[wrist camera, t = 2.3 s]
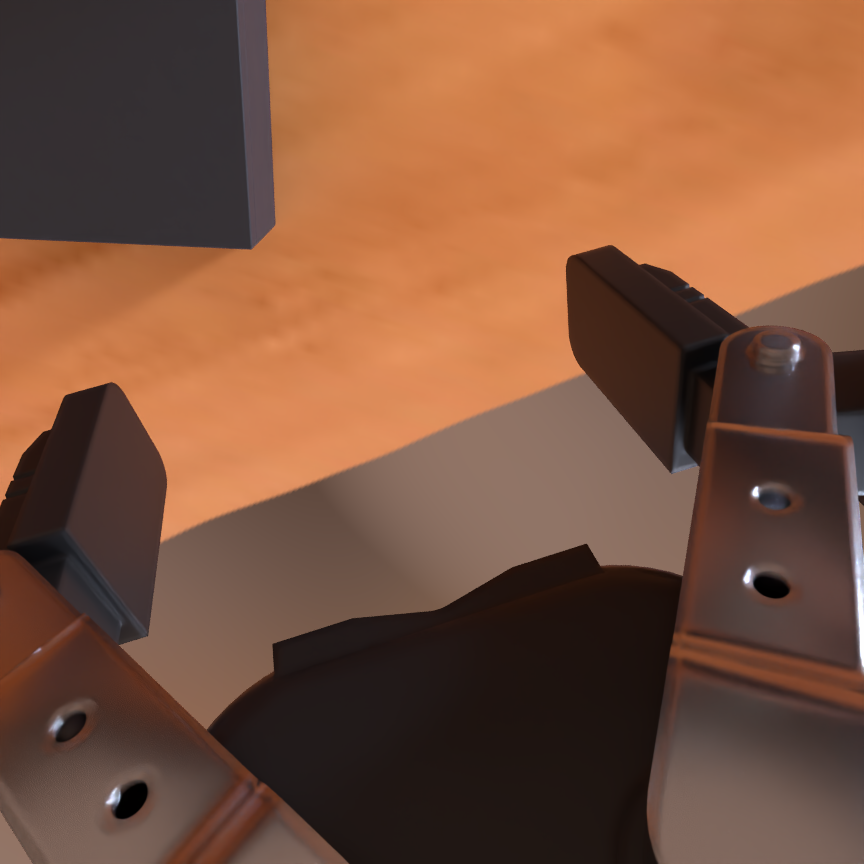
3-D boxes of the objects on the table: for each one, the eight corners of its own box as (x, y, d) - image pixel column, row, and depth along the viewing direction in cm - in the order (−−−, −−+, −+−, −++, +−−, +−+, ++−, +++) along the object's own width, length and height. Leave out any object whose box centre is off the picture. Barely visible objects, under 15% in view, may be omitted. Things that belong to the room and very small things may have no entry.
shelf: (-85, -95, 26) (-228, -162, 20) (262, -63, 28) (230, -117, 22) (-15, 211, 32) (-111, 233, 25) (275, 225, 33) (252, 249, 27)
